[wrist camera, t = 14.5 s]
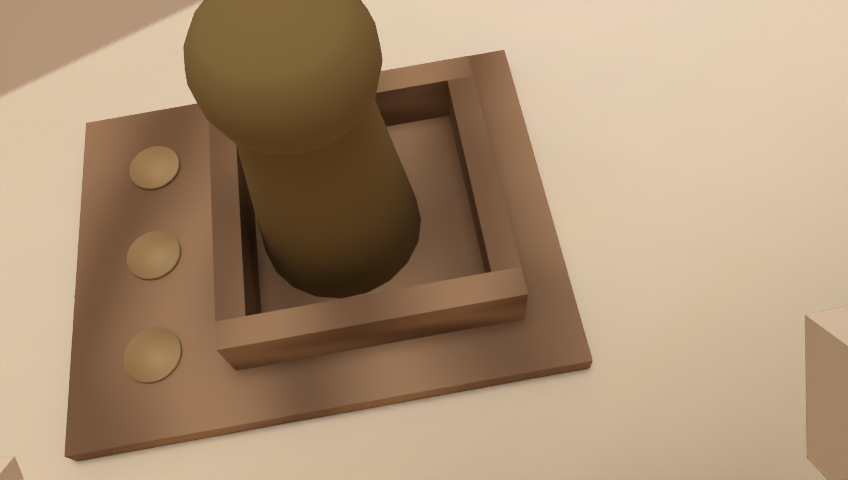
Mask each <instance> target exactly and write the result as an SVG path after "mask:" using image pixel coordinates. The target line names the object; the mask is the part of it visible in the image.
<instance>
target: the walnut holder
mask: <svg viewBox="0 0 848 480" xmlns="http://www.w3.org/2000/svg"><path fill="white" fill-rule="evenodd" d="M375 101H376V104H377V106H378V108H379V111H380V113H381V115H382V118H383V120H384V123H385V125H386V127H387V130H388V132H389V135H390V137H391V139H392V142H393V144H394V146H395V149H396V151H397V154H398V156H399V158H400V161H401V163H402V166H403V168H404V170H405V173H406V175H407V177H408V180H409V182H410V185H411V187H412V189H413V192H414V194H415V197H416V199H417V203H418V208H419V212H420V216H421V225H420V233H419V240H418V243H417V245H416V247H415V249H414V251H413V253H412V255H411V257H410V259H409V261H408V263H407V264H406V265H405V266H404V267H403V268H402V269H401V270H400V271H399V272H398V273H397V274H396V275H395V276H394V277H393V278H392V279H391V280H390V281H388V282H386V283H385V284H383V285H381V286H379V287H377V288H375V289H373V290H372V291H370V292H368V293H365V294H360V295H355V296H350V297H346V298H329V297H317V296H314V295H311V294H309V293H306V292H304V291H301V290H299V289H297V288H294V287H292V286H291V285H290V284H289V283H288V282H287V281H286V280H285V279H284V278H282V277H281V276H280V275H279V274H278V273H277V272H276V271H275V269H274V267H273V265H272V263H271V261H270V259H269V257H268V255H267V253H266V251H265V247H264V244H263V240H262V236H261V233H260V229H259V225H258V222H257V218H256V214H255V211H254V207H253V203H252V200H251V196H250V192H249V189H248V185H247V182H246V178H245V174H244V171H243V167H242V163H241V160H240V156H239V152H238V149H237V145H236V144H235V143H234V142H233V141H232V140H230V139H229V138H228V137H227V136H226V135H224V134H223V133H222V132H221V131H220V130H218V129H217V128H216V127H215V126H214V125H213V124H211V123H210V122H209V121H208V120H207V119H206V117H205V116H204V114H203V112H202V111H201V109H200V107H199V105H198V104H192V105H187V106H181V107H175V108H170V109H164V110H158V111H152V112H147V113H141V114H135V115H130V116H124V117H118V118H112V119H107V120H101V121H95V122H90V123H86V135H85V150H84V166H83V181H82V196H81V212H80V227H79V243H78V258H77V273H76V289H75V304H74V320H73V335H72V350H71V366H70V381H69V397H68V412H67V427H66V443H65V457H67V458H70V459H72V460H75V461H80V460H85V459H91V458H96V457H102V456H107V455H113V454H118V453H124V452H129V451H135V450H140V449H146V448H151V447H157V446H162V445H168V444H173V443H179V442H184V441H190V440H195V439H201V438H206V437H212V436H217V435H223V434H228V433H234V432H239V431H245V430H250V429H256V428H261V427H267V426H272V425H278V424H283V423H289V422H294V421H300V420H305V419H311V418H316V417H322V416H327V415H333V414H338V413H344V412H349V411H355V410H360V409H366V408H371V407H377V406H382V405H388V404H393V403H399V402H404V401H410V400H415V399H421V398H426V397H432V396H437V395H443V394H448V393H454V392H459V391H465V390H470V389H476V388H481V387H487V386H492V385H498V384H503V383H509V382H514V381H520V380H525V379H531V378H536V377H542V376H547V375H553V374H558V373H564V372H569V371H575V370H580V369H586V368H590V365H591V363H592V357H591V353H590V350H589V346H588V343H587V339H586V336H585V332H584V329H583V325H582V322H581V318H580V315H579V311H578V308H577V304H576V301H575V297H574V294H573V290H572V287H571V283H570V280H569V276H568V273H567V269H566V266H565V262H564V259H563V255H562V252H561V248H560V244H559V241H558V237H557V234H556V230H555V227H554V223H553V220H552V216H551V213H550V209H549V206H548V202H547V199H546V195H545V192H544V188H543V185H542V181H541V178H540V174H539V171H538V167H537V164H536V160H535V157H534V153H533V150H532V146H531V142H530V139H529V135H528V132H527V128H526V125H525V121H524V118H523V114H522V111H521V107H520V104H519V100H518V97H517V93H516V90H515V86H514V83H513V79H512V76H511V72H510V69H509V65H508V62H507V58H506V55H505V51H504V50H501V51H495V52H490V53H484V54H478V55H472V56H465V57H460V58H454V59H448V60H443V61H437V62H431V63H425V64H420V65H414V66H408V67H403V68H397V69H391V70H385V71H380V77H379V83H378V88H377V93H376V98H375Z"/></svg>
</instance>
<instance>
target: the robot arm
mask: <svg viewBox="0 0 848 480" xmlns="http://www.w3.org/2000/svg"><path fill="white" fill-rule="evenodd" d="M805 360H806V431H807V458H808V460H809V461H810V462H811V463H812V464H813V465H814V466H815V467H816V468H817V469H818V470H819V471H820V472H821V473H822V475H823V476H824V477H825V478H826V479H827V480H848V307H844V308H838V309H833V310H827V311H822V312H816V313H810V314H805ZM0 480H24V478H23V476H22V473H21V471H20V468H19V466H18V463H17V461H16V458H15V456H13V457H7V458H2V459H0Z"/></svg>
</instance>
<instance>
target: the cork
mask: <svg viewBox="0 0 848 480" xmlns="http://www.w3.org/2000/svg"><path fill="white" fill-rule="evenodd" d="M184 63H185V73H186V79H187V84H188V86H189V88H190V90H191V92H192V94H193V96H194V98H195V100H196V101H197V103H198V105H199V107H200V109H201V111H202V112H203V114H204V116H205V117H206V119H207V120H208V121H209V122H210V123H211V124H213V125H214V126H215V127H216V128H217V129H218V130H220V131H221V132H222V133H223V134H224V135H226V136H227V137H228V138H229V139H230V140H232V141H233V142H234V143H235V144H236V145H237V149H238V152H239V156H240V160H241V163H242V167H243V171H244V174H245V178H246V182H247V185H248V189H249V192H250V196H251V200H252V203H253V207H254V211H255V214H256V218H257V222H258V225H259V229H260V233H261V236H262V240H263V244H264V247H265V251H266V253H267V255H268V257H269V259H270V261H271V263H272V265H273V267H274V269H275V271H276V272H277V273H278V274H279V275H280V276H281V277H282V278H284V279H285V280H286V281H287V282H288V283H289V284H290V285H291V286H292V287H294V288H297V289H299V290H301V291H304V292H306V293H309V294H311V295H314V296H317V297H329V298H346V297H350V296H355V295H360V294H365V293H368V292H370V291H372V290H373V289H375V288H377V287H379V286H381V285H383V284H385V283H386V282H388V281H390V280H391V279H392V278H393V277H394V276H395V275H396V274H397V273H398V272H399V271H400V270H401V269H402V268H403V267H404V266H405V265H406V264H407V263H408V261H409V259H410V257H411V255H412V253H413V251H414V249H415V247H416V245H417V243H418V240H419V233H420V225H421V216H420V212H419V208H418V203H417V199H416V197H415V194H414V192H413V189H412V187H411V185H410V182H409V180H408V177H407V175H406V173H405V170H404V168H403V166H402V163H401V161H400V158H399V156H398V154H397V151H396V149H395V146H394V144H393V142H392V139H391V137H390V135H389V132H388V130H387V127H386V125H385V123H384V120H383V118H382V115H381V113H380V111H379V108H378V106H377V104H376V101H375V98H376V93H377V88H378V83H379V77H380V71H381V66H382V54H381V48H380V42H379V38H378V34H377V29H376V25H375V22H374V20H373V18H372V17H371V15H370V13H369V11H368V9H367V8H366V7H365V5H364V4H363V3H362V1H361V0H204V1H203V2H202V4H201V5H200V6H199V7H198V9H197V10H196V11H195V13H194V16H193V19H192V21H191V24H190V27H189V30H188V33H187V36H186V40H185V43H184Z"/></svg>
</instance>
